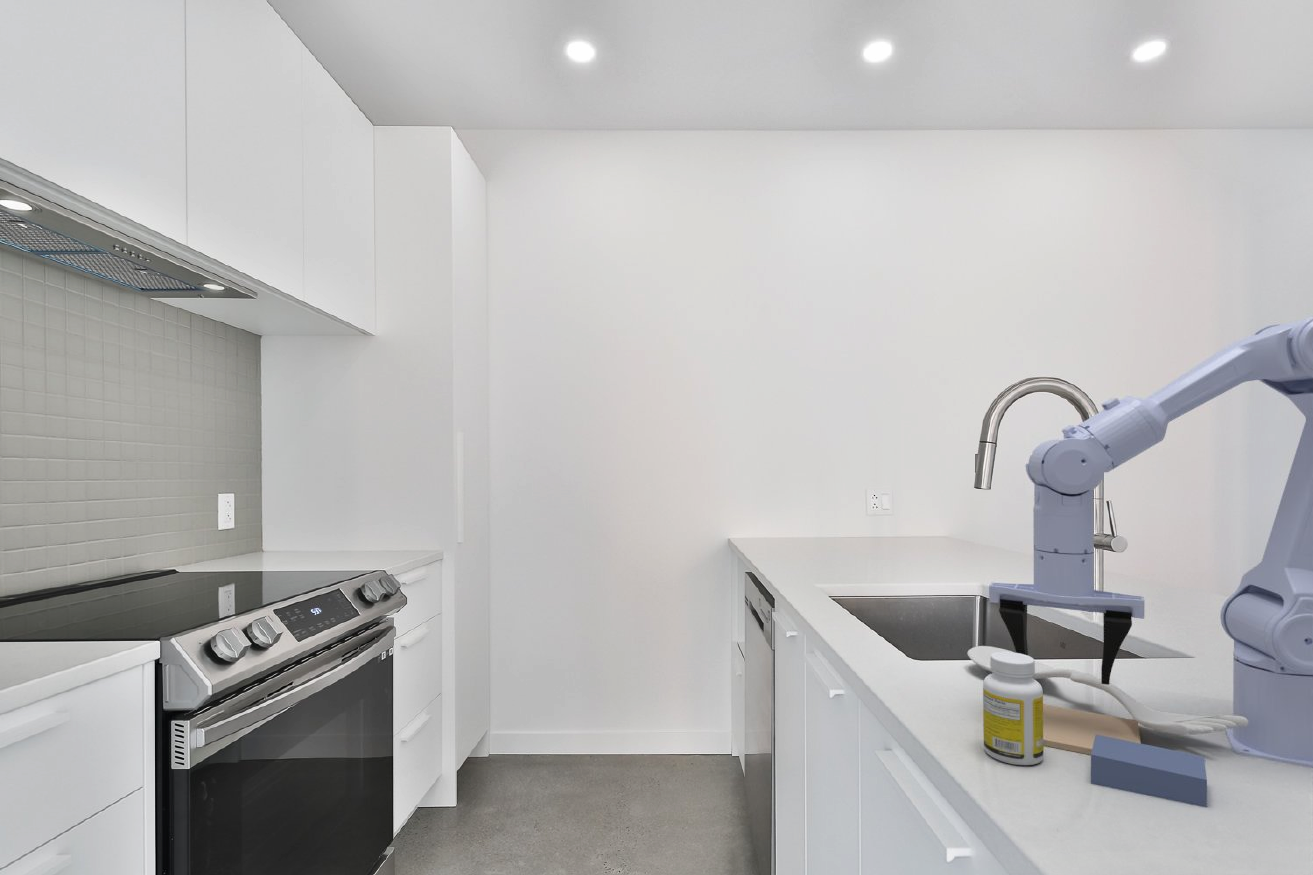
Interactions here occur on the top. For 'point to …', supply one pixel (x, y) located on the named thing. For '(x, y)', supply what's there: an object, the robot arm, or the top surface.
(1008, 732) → the supplement bottle
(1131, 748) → the card box
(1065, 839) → the top surface
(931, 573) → the top surface
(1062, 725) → the flat tan board
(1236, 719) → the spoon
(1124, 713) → the top surface
